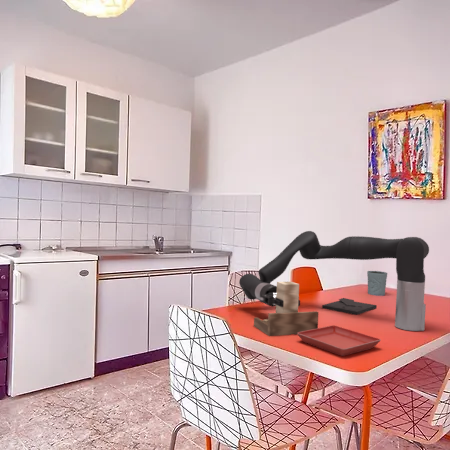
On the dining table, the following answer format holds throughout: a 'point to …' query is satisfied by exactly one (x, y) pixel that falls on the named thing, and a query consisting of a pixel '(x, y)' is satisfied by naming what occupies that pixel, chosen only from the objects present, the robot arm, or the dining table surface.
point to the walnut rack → (287, 323)
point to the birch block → (287, 297)
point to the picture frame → (349, 306)
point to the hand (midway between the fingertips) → (290, 303)
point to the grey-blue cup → (376, 282)
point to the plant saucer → (338, 340)
